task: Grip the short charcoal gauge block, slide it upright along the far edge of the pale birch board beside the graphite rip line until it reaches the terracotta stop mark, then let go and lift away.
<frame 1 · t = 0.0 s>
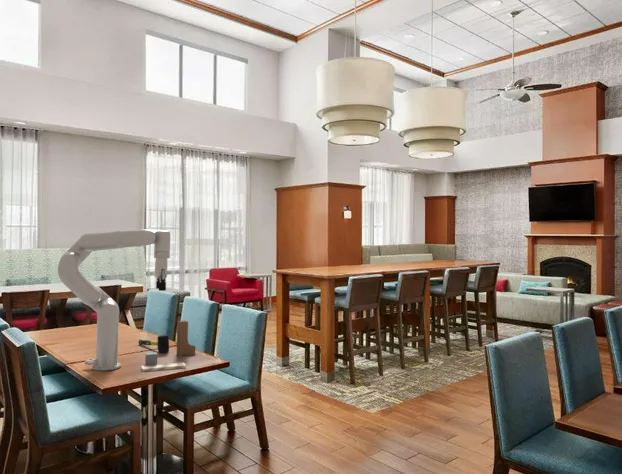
hand: (160, 289, 241), 37 cm above the table, tool pointing down, fingers open, 9 cm apart
gauge block: (151, 365, 237), on the table
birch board: (163, 368, 233), on the table
wooden block: (185, 354, 261), on the table
mallet: (152, 349, 272), on the table
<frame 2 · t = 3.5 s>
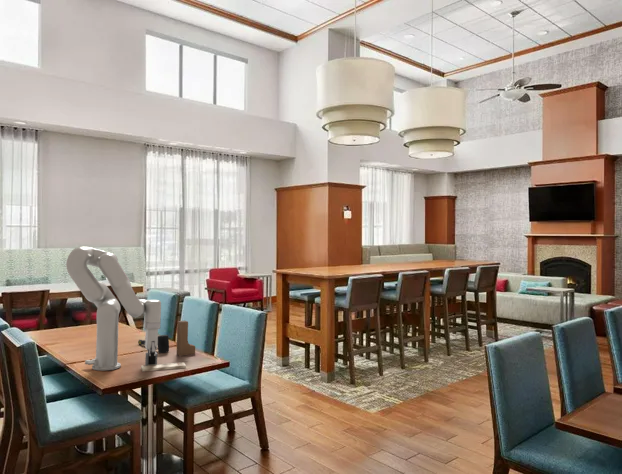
hand: (151, 362, 237), 1 cm above the table, tool pointing down, fingers closed on gauge block, 4 cm apart
gauge block: (151, 365, 237), on the table, touching gripper
everything else where it was.
when the fingers open (2 cm above the table, at t = 7.8 s): gauge block stays where it is, on the table.
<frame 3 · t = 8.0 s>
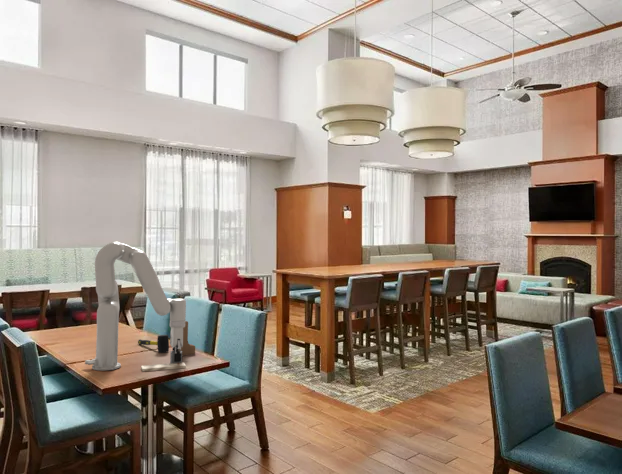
hand: (176, 359, 242), 2 cm above the table, tool pointing down, fingers open, 5 cm apart
gauge block: (176, 363, 242), on the table
everything else where it was.
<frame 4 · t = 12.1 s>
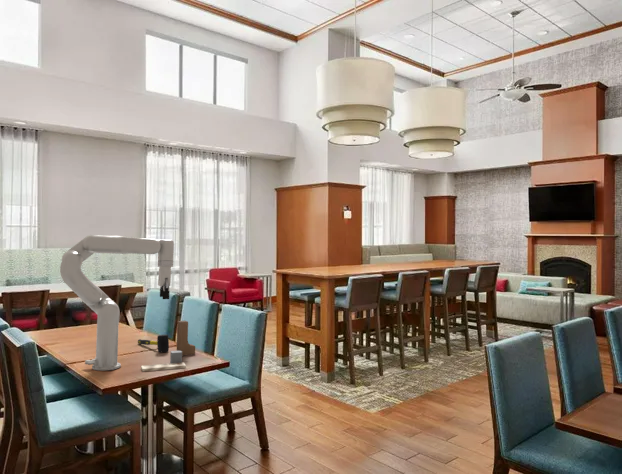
hand: (164, 297, 244), 32 cm above the table, tool pointing down, fingers open, 9 cm apart
at the end: gauge block 0.4 cm from the target spot, on the table; gauge block tilted 0°; the gripper is holding nothing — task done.
